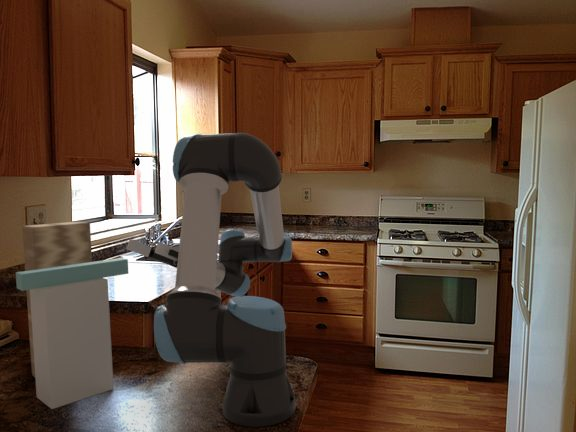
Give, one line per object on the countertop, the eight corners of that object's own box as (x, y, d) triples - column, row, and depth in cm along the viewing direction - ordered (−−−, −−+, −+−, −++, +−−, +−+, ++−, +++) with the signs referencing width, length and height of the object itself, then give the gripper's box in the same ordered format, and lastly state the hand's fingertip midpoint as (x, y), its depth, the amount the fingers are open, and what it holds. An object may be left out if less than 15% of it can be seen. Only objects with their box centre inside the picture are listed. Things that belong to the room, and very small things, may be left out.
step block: (96, 378, 126) (90, 274, 124) (113, 388, 119) (107, 279, 117) (36, 397, 116) (29, 284, 114) (51, 409, 109) (44, 289, 107)
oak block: (86, 360, 139) (78, 221, 136) (97, 366, 134) (89, 222, 131) (32, 375, 129) (22, 226, 126) (42, 382, 124) (32, 227, 121)
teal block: (121, 271, 126) (120, 257, 126) (128, 273, 124) (127, 259, 124) (16, 288, 110) (15, 272, 109) (22, 290, 107) (21, 274, 107)
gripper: (229, 289, 134) (164, 263, 119) (175, 279, 151) (113, 256, 137) (237, 261, 136) (175, 233, 121) (183, 255, 153) (123, 229, 138)
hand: (142, 245), depth 129 cm, fingers open, 13 cm apart
